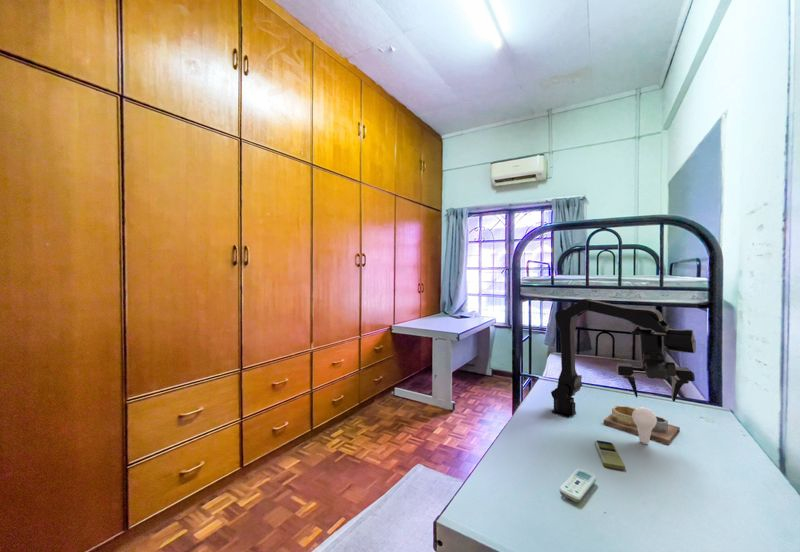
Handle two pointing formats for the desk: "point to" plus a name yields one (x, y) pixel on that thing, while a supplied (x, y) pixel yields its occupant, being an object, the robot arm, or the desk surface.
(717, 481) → the desk surface
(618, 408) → the brass collar
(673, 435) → the walnut board
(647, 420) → the lightbulb
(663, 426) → the grey small collar
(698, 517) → the desk surface
